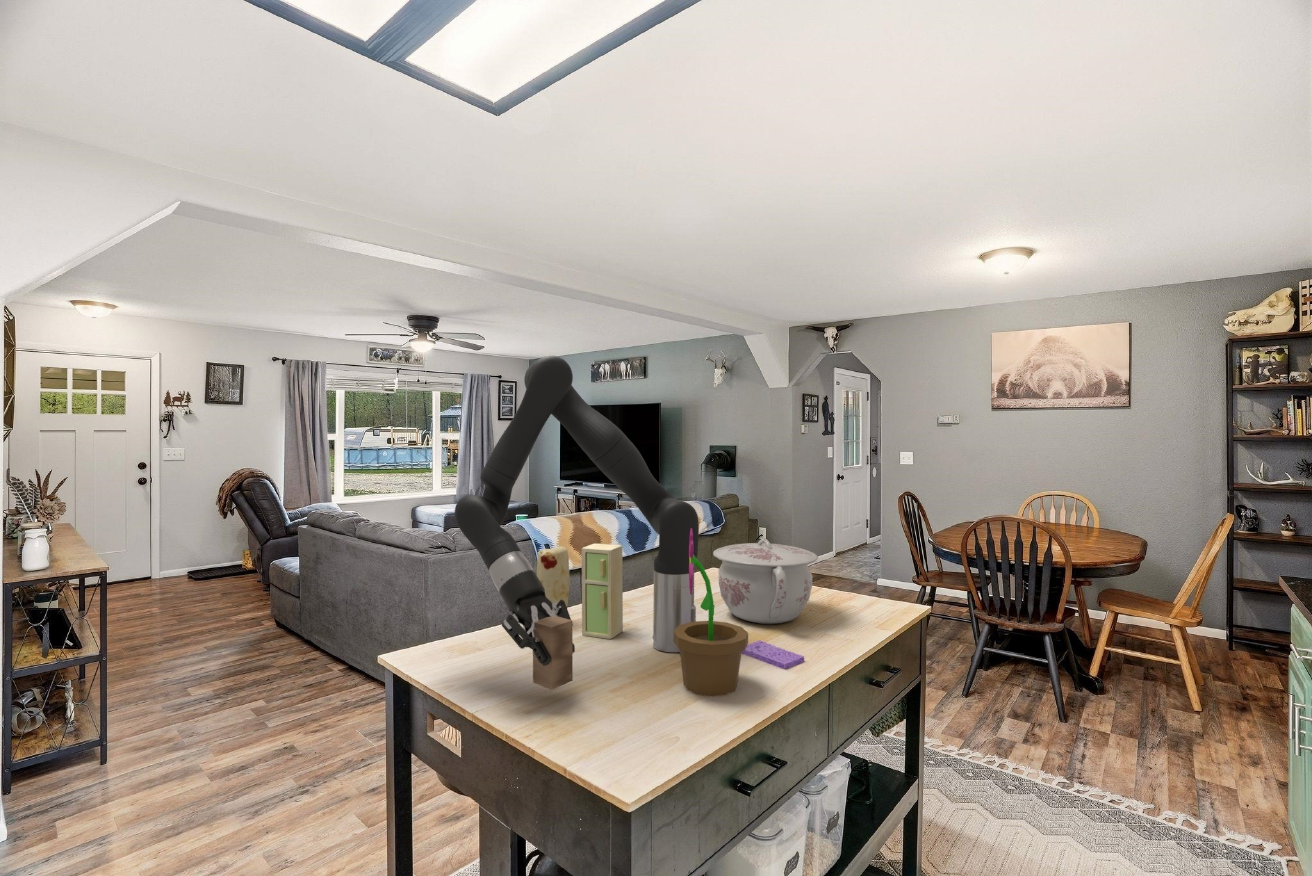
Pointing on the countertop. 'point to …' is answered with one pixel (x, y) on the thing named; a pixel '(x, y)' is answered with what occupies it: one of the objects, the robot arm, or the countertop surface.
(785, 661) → the sponges
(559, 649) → the walnut block
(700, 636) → the flowerpot
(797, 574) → the chamber pot
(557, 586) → the food model
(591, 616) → the toy refrigerator
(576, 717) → the countertop surface
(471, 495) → the robot arm
